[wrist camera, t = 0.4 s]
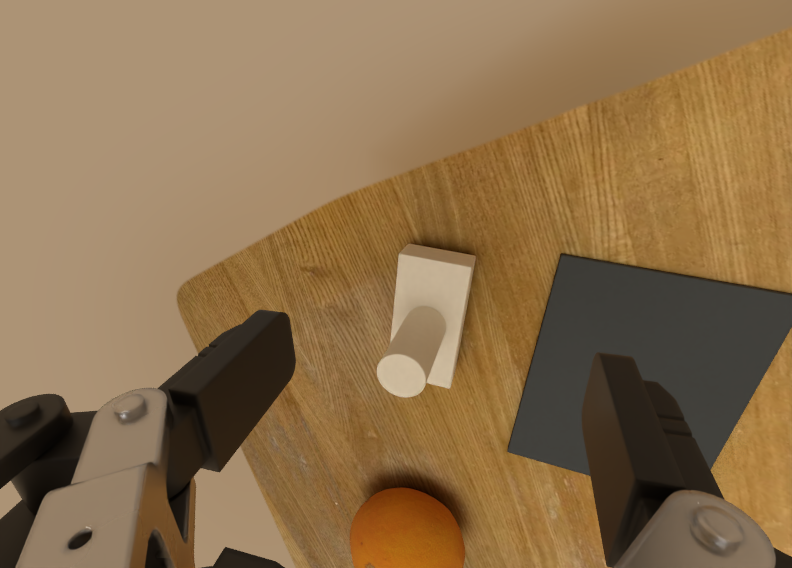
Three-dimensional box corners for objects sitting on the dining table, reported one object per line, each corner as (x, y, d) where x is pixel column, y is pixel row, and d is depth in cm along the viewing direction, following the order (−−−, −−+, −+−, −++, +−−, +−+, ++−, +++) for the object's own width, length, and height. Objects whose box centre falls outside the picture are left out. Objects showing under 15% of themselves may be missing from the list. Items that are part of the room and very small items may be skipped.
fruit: (387, 451, 40) (356, 525, 33) (486, 506, 39) (476, 595, 32) (353, 511, 45) (320, 586, 38) (441, 561, 44) (423, 648, 37)
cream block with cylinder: (410, 240, 31) (365, 290, 23) (477, 252, 30) (456, 310, 21) (398, 352, 35) (356, 429, 27) (456, 366, 34) (432, 451, 26)
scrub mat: (561, 253, 28) (561, 255, 28) (804, 295, 25) (808, 298, 25) (507, 448, 36) (507, 452, 35) (688, 500, 32) (690, 504, 32)
